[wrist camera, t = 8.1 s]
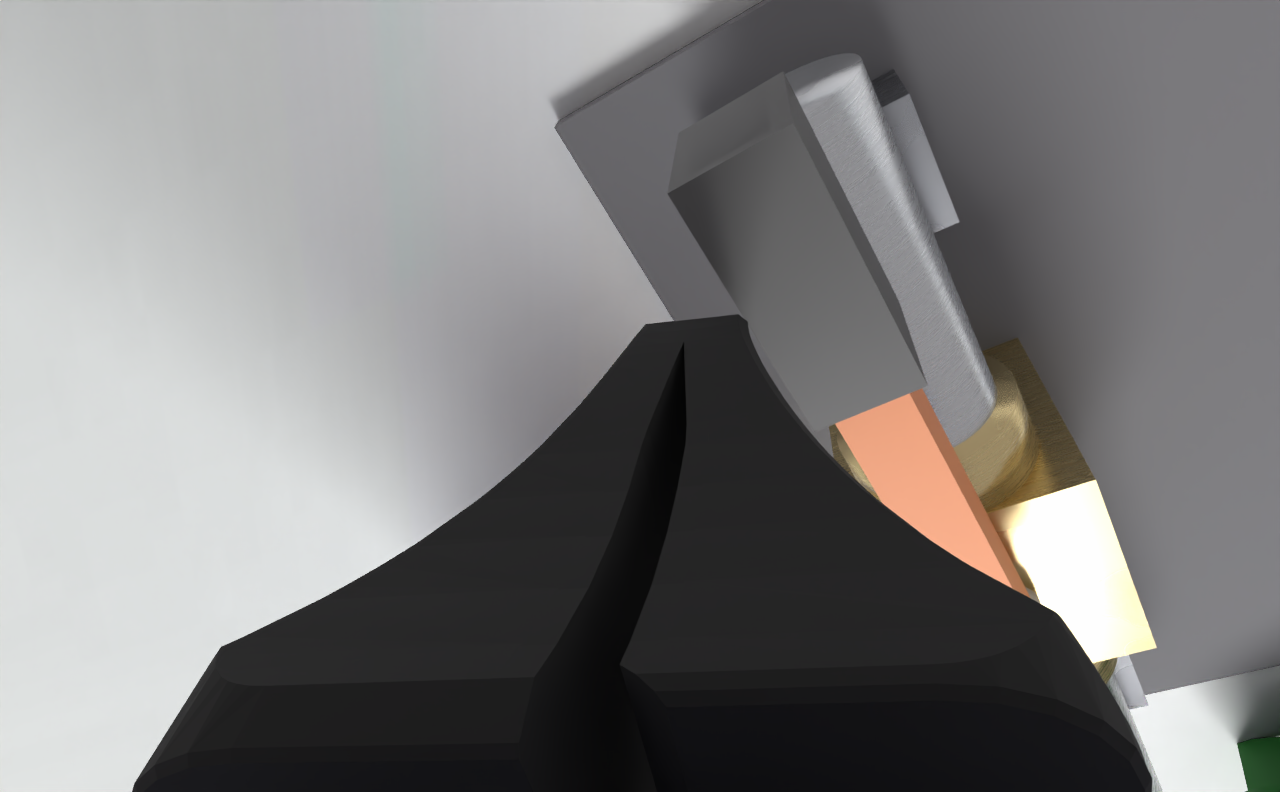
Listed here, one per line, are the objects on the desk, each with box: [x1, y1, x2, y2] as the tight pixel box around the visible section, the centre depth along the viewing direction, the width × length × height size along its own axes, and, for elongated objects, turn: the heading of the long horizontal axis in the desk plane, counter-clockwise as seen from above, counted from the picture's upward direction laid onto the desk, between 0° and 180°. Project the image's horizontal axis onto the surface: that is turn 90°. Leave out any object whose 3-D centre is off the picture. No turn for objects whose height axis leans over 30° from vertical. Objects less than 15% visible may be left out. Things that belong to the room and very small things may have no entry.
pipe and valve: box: [785, 53, 1162, 792], centre depth 21 cm, size 5×24×6 cm, turn 30°
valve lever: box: [667, 71, 1041, 604], centre depth 15 cm, size 14×2×3 cm, turn 32°
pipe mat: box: [554, 0, 1280, 695], centre depth 22 cm, size 18×26×1 cm
